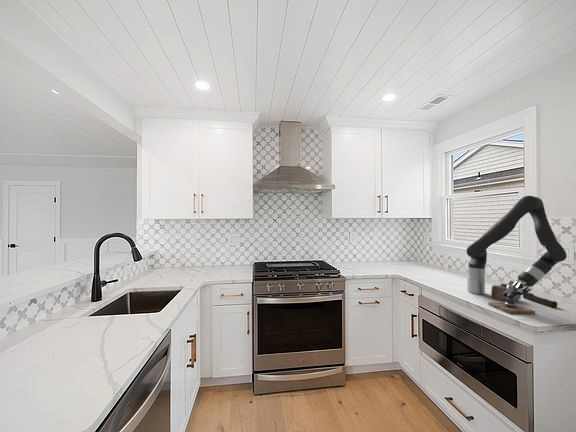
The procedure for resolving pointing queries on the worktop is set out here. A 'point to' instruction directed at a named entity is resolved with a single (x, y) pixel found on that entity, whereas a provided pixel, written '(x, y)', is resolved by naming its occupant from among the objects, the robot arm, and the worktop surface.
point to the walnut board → (511, 308)
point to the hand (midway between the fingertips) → (506, 296)
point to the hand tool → (540, 300)
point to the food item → (501, 292)
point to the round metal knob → (512, 301)
